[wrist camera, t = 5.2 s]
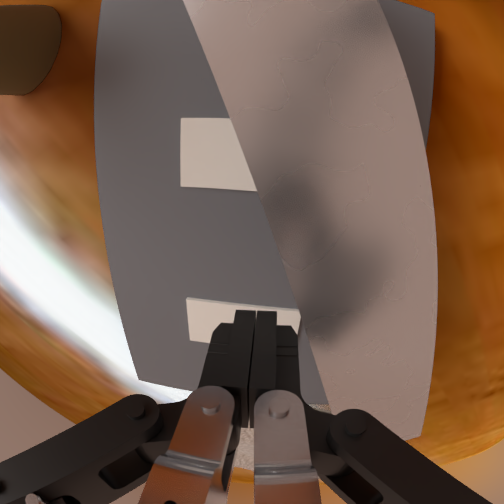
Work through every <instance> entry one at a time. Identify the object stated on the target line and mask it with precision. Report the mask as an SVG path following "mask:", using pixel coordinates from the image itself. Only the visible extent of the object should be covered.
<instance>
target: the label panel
mask: <svg viewBox="0 0 504 504" xmlns="http://www.w3.org/2000/svg"><path fill="white" fill-rule="evenodd" d="M378 2H379V4H380V6H381V8H382V11H383V13H384V15H385V17H386V20H387V22H388V25H389V27H390V30H391V32H392V35H393V37H394V40H395V42H396V45H397V48H398V51H399V53H400V56H401V59H402V62H403V65H404V68H405V71H406V74H407V78H408V81H409V84H410V88H411V91H412V95H413V98H414V102H415V106H416V110H417V114H418V118H419V122H420V127H421V131H422V136H423V141H424V146H425V151H426V145H427V139H428V132H429V124H430V115H431V106H432V95H433V82H434V63H435V14H434V13H432V12H429V11H426V10H424V9H421V8H418V7H415V6H412V5H409V4H406V3H403V2H399V1H396V0H378ZM94 133H95V154H96V169H97V181H98V191H99V200H100V209H101V216H102V224H103V231H104V237H105V243H106V249H107V255H108V261H109V266H110V271H111V276H112V281H113V286H114V291H115V295H116V300H117V304H118V308H119V312H120V316H121V320H122V324H123V328H124V332H125V335H126V339H127V343H128V346H129V350H130V353H131V356H132V360H133V363H134V366H135V369H136V373H137V376H138V379H139V380H141V381H145V382H150V383H154V384H159V385H163V386H168V387H173V388H178V389H184V390H189V391H195V390H196V389H197V388H198V385H199V382H200V378H201V374H202V370H203V366H204V363H205V359H206V355H207V353H208V348H209V344H210V340H211V336H212V333H213V331H214V330H215V329H216V327H217V326H218V325H219V324H220V323H233V322H234V317H235V312H236V310H256V317H257V310H259V311H277V325H291V326H292V328H293V329H294V331H295V332H296V334H297V335H298V352H299V371H300V391H301V395H302V398H303V399H304V401H305V402H306V403H307V404H329V403H328V400H327V396H326V393H325V390H324V387H323V384H322V380H321V377H320V374H319V371H318V368H317V365H316V362H315V358H314V355H313V352H312V349H311V346H310V343H309V340H308V337H307V334H306V331H305V328H304V325H303V322H302V319H301V316H300V313H299V310H298V307H297V304H296V301H295V298H294V295H293V292H292V289H291V286H290V283H289V280H288V277H287V274H286V271H285V268H284V265H283V263H282V260H281V257H280V254H279V251H278V248H277V245H276V242H275V240H274V237H273V234H272V231H271V228H270V225H269V223H268V220H267V217H266V214H265V211H264V209H263V206H262V203H261V200H260V197H259V195H258V192H257V189H256V186H255V184H254V181H253V178H252V175H251V173H250V170H249V167H248V165H247V162H246V159H245V156H244V154H243V151H242V148H241V146H240V143H239V140H238V138H237V135H236V132H235V130H234V127H233V125H232V122H231V119H230V117H229V114H228V111H227V109H226V106H225V104H224V101H223V98H222V96H221V93H220V91H219V88H218V86H217V83H216V81H215V78H214V75H213V73H212V70H211V68H210V65H209V63H208V60H207V58H206V55H205V53H204V50H203V48H202V45H201V43H200V40H199V38H198V36H197V33H196V31H195V28H194V26H193V23H192V21H191V19H190V16H189V14H188V11H187V9H186V7H185V4H184V2H183V0H102V3H101V10H100V17H99V26H98V35H97V46H96V60H95V80H94Z"/></svg>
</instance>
